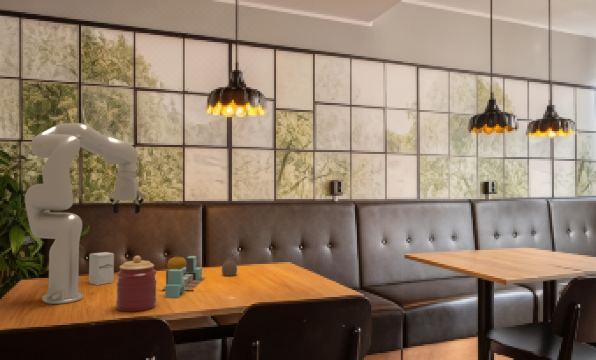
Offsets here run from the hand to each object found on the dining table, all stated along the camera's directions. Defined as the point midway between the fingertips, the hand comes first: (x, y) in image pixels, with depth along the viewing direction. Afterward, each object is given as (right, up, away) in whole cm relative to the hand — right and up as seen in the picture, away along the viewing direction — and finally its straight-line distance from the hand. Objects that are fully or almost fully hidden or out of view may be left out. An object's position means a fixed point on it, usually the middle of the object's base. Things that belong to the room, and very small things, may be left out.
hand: (126, 213), depth 200 cm
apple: (+22, -30, +4) cm, 37 cm away
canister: (+22, -29, -49) cm, 61 cm away
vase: (+47, -30, +1) cm, 55 cm away
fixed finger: (+31, -28, -7) cm, 43 cm away
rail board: (+31, -29, -15) cm, 45 cm away
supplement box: (-6, -29, -12) cm, 32 cm away
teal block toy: (+31, -29, -32) cm, 53 cm away
